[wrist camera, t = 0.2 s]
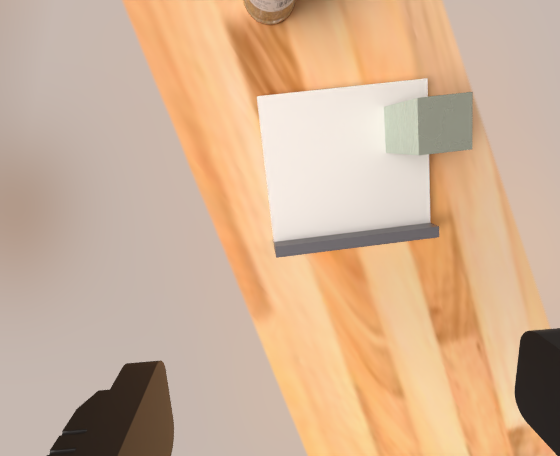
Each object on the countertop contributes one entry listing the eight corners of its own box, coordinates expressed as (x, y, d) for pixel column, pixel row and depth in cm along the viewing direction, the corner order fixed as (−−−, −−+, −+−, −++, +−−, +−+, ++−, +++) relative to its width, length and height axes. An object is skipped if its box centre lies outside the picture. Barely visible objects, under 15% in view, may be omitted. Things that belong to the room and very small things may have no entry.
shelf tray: (256, 98, 34) (257, 93, 31) (420, 80, 35) (436, 75, 32) (274, 249, 37) (276, 259, 34) (423, 230, 38) (438, 238, 35)
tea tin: (383, 107, 34) (417, 97, 27) (427, 102, 34) (472, 92, 27) (385, 152, 35) (418, 155, 28) (428, 147, 35) (472, 149, 28)
